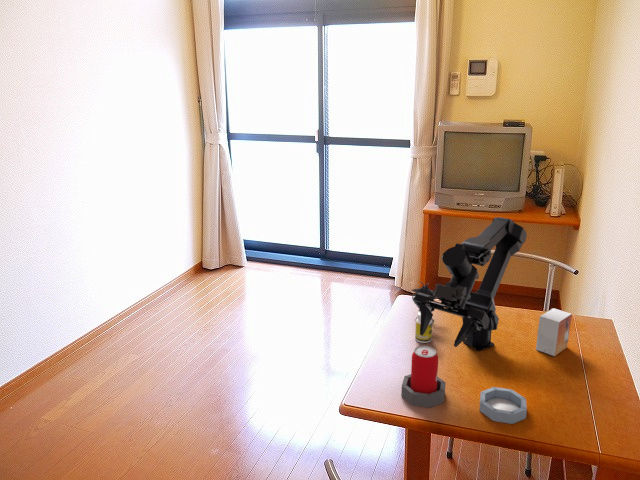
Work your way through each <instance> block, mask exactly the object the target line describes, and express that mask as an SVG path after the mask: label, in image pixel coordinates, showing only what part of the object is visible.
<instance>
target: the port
mask: <svg viewBox="0 0 640 480" xmlns="http://www.w3.org/2000/svg"><path fill="white" fill-rule="evenodd" d="M479 397H480V398H479V412H480V413H482V414H483V415H484V416H486V417H487V418H489V419H490V420H491V421H493V422H497V423H505V424H510V425H513V424H516V423H518V422H520V421H523V420H525V419H527V413H528V411H527V410H528V408H527V406H528V405H527V399H526V397H525V396H522V394H519V393H518V392H516V391H515V390H513V389H509V388H504V387H497V386H492V387H490V388H487V389H485V390H482V391H480V395H479Z"/></svg>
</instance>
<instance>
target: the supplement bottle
mask: <svg viewBox="0 0 640 480" xmlns="http://www.w3.org/2000/svg"><path fill="white" fill-rule="evenodd" d="M416 318H417V319H416ZM416 318H415V332H414V333H415V335H414V336H415V337H414V339H415V340H416V342H418V343H422V344H427V343H431V342H432V335H433V333H432V332H433V322H432V319H431V321H430V323H429V325H428V327H427V329H426V331H425V333H424V334H423V336H421V335H420V323H421V313H420V311H419V310H418V312H417V317H416Z"/></svg>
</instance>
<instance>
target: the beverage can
mask: <svg viewBox="0 0 640 480" xmlns="http://www.w3.org/2000/svg"><path fill="white" fill-rule="evenodd" d="M413 350H414V351H413V352H412V355H411V370H410V371H411V372H410V374H411V387H410V388H411V389H412V390H413V391H414V392H418V393H425V394H431V393H433V392H436V391H437V376H438V373H439V370H438V369H439V355H438V354H437V350H436V349H435V348H434V347H432V346H429V345H418V346H416V347H415V348H414V349H413Z"/></svg>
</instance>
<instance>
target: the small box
mask: <svg viewBox="0 0 640 480" xmlns="http://www.w3.org/2000/svg"><path fill="white" fill-rule="evenodd" d="M572 317H573V313H570V312H567V311H564V310H560V309H557V308H552V307H551V309H550V310H547V312H544V313H543V314H541V315H540V316H539V321H538V329H537V334H536V335H537V337H536V338H537V339H536V346H535V350H536V351H539V352H542V353H544V354H547V355H549V356H552V357H556V356H557V355H558V354H560V353H561V352H563V351H564V350H565V349H567V348H568V346H569V345H568V344H569V338H570V337H569V336H570V330H571V329H570V328H571V325H572V324H571V323H572Z"/></svg>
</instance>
